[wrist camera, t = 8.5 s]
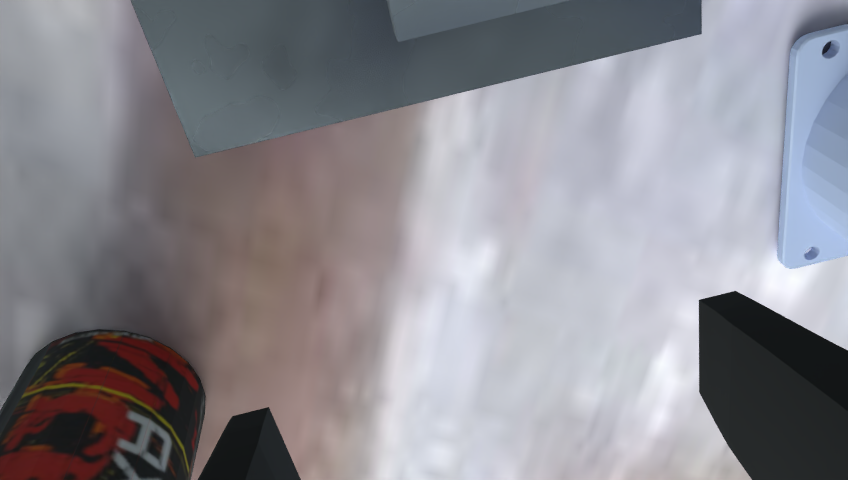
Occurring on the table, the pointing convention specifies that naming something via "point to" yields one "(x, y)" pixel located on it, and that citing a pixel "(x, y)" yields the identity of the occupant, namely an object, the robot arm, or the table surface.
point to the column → (451, 14)
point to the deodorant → (102, 412)
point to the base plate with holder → (366, 57)
